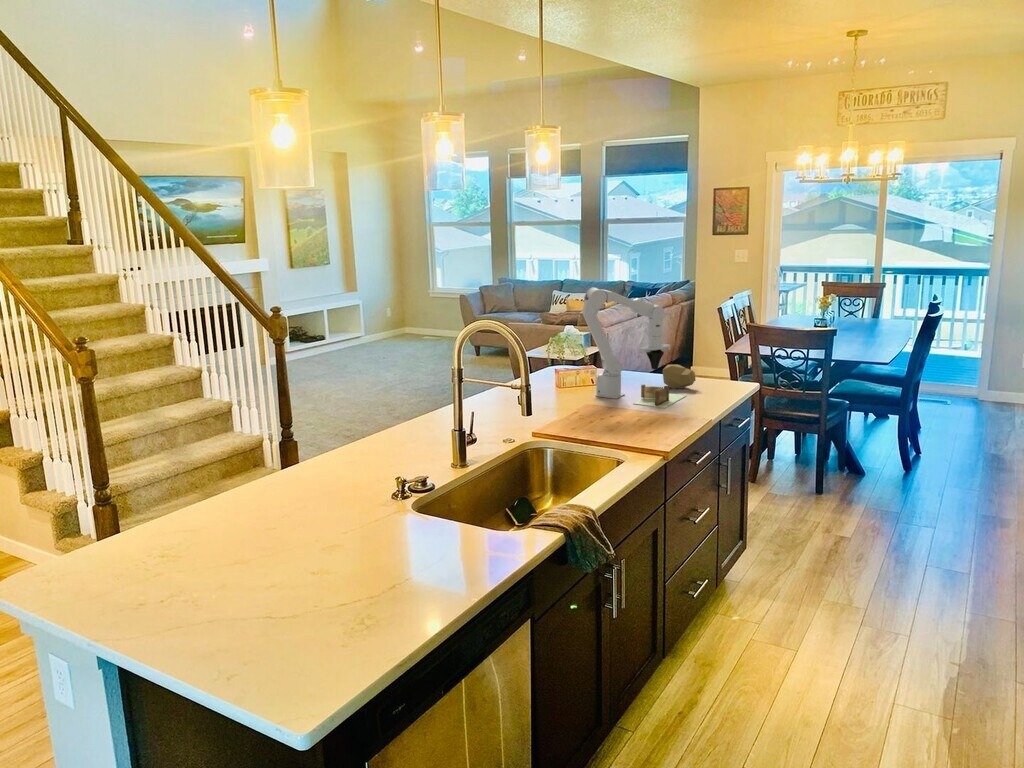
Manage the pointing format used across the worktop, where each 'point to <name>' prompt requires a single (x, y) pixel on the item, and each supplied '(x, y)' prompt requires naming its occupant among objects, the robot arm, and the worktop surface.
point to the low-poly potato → (678, 376)
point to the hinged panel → (649, 391)
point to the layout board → (664, 404)
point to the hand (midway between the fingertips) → (654, 368)
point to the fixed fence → (661, 395)
